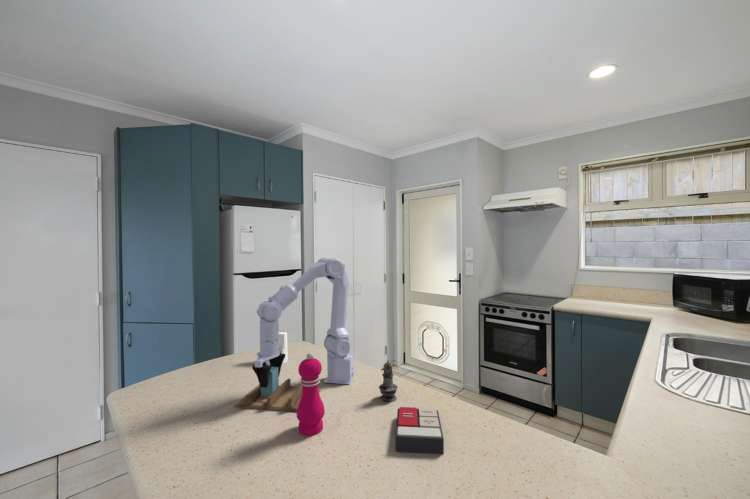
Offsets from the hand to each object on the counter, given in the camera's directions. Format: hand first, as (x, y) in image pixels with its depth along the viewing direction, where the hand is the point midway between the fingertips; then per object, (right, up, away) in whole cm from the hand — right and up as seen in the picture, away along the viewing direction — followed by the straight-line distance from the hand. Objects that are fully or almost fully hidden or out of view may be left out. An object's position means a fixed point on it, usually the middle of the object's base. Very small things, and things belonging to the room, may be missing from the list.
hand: (269, 381), depth 102 cm
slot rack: (+3, -5, 0) cm, 6 cm away
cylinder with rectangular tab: (-8, -6, +34) cm, 35 cm away
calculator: (+45, -5, -21) cm, 49 cm away
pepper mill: (+17, -5, -18) cm, 25 cm away
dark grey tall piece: (+38, -5, -1) cm, 38 cm away
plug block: (0, -4, 0) cm, 4 cm away
